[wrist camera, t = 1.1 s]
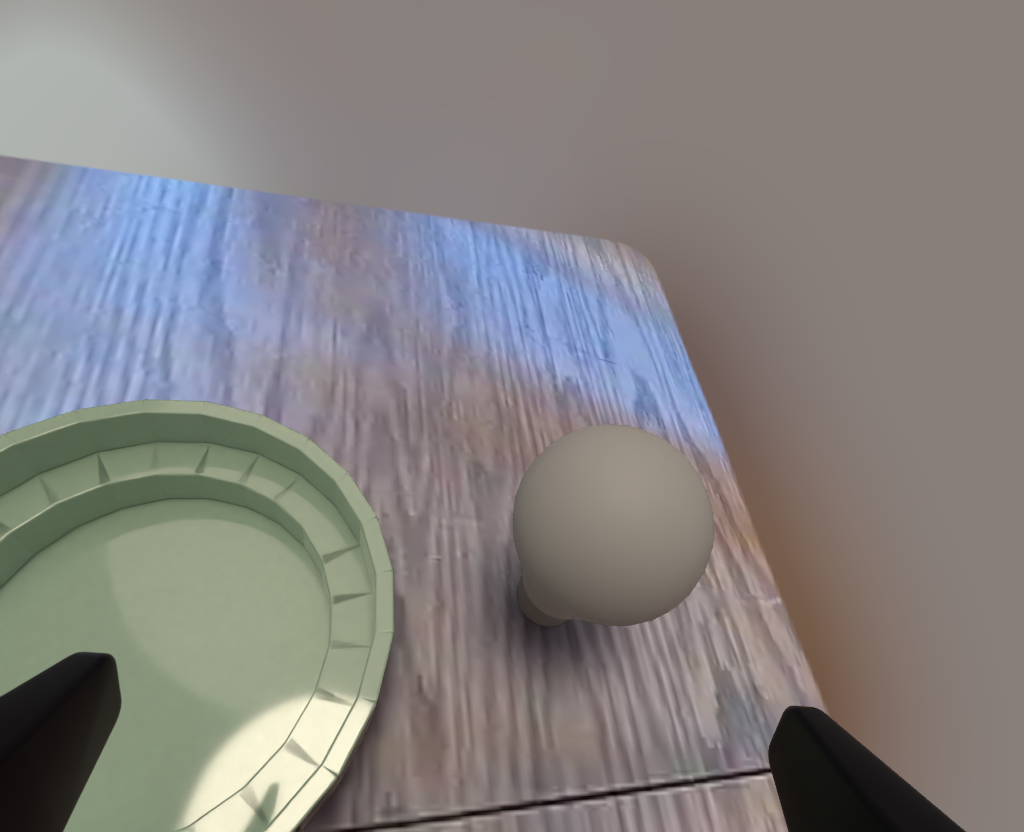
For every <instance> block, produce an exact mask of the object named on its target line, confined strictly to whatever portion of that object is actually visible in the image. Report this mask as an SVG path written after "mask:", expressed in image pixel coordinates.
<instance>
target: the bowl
mask: <svg viewBox="0 0 1024 832" xmlns="http://www.w3.org/2000/svg"><path fill="white" fill-rule="evenodd" d="M393 637H394V573H393V568H392V564H391V561H390V557H389V554H388V551H387V547H386V544H385V541H384V537H383V534H382V531H381V527H380V524H379V520H378V518H377V515H376V514H375V512H374V511H373V509H372V508H371V506H370V505H369V503H368V501H367V500H366V498H365V497H364V495H363V494H362V492H361V491H360V489H359V488H358V486H357V485H356V483H355V481H354V480H353V478H352V477H351V475H350V474H349V473H348V472H347V471H346V470H345V469H344V468H343V467H341V466H340V465H339V464H338V463H337V462H336V461H335V460H333V459H332V458H331V457H330V456H329V455H328V454H327V453H325V452H324V451H323V450H322V449H321V448H320V447H319V446H317V445H316V444H315V443H314V442H313V441H312V440H310V439H309V438H308V437H306V436H304V435H302V434H299V433H297V432H295V431H293V430H291V429H289V428H287V427H285V426H283V425H281V424H279V423H277V422H275V421H273V420H271V419H269V418H267V417H265V416H263V415H261V414H257V413H253V412H249V411H245V410H240V409H236V408H232V407H228V406H224V405H219V404H215V403H211V402H205V401H180V400H148V399H145V400H144V401H143V400H137V401H130V402H124V403H117V404H111V405H104V406H97V407H91V408H84V409H78V410H77V411H71V412H68V413H65V414H62V415H59V416H56V417H53V418H50V419H47V420H44V421H41V422H38V423H34V424H31V425H28V426H25V427H22V428H19V429H16V430H13V431H10V432H7V433H6V435H5V434H2V435H0V696H2V695H4V694H6V693H7V692H9V691H11V690H12V689H14V688H16V687H17V686H19V685H21V684H22V683H24V682H26V681H27V680H29V679H31V678H32V677H34V676H36V675H37V674H39V673H41V672H43V671H44V670H46V669H48V668H49V667H51V666H53V665H54V664H56V663H58V662H59V661H61V660H63V659H64V658H66V657H68V656H70V655H72V654H74V653H77V652H97V653H108V654H111V655H112V656H113V657H114V658H115V660H116V664H117V671H118V678H119V684H120V691H121V698H122V703H121V710H120V714H119V717H118V720H117V722H116V724H115V726H114V728H113V730H112V732H111V734H110V736H109V738H108V741H107V743H106V745H105V747H104V749H103V751H102V753H101V755H100V757H99V759H98V761H97V763H96V765H95V767H94V769H93V771H92V773H91V775H90V777H89V780H88V782H87V784H86V786H85V788H84V790H83V792H82V794H81V796H80V798H79V800H78V802H77V804H76V806H75V808H74V810H73V812H72V814H71V817H70V819H69V821H68V823H67V825H66V827H65V829H64V831H63V832H302V831H303V829H304V828H305V827H306V826H307V825H308V823H309V822H310V821H311V820H312V818H313V817H314V816H315V815H316V814H317V812H318V811H319V810H320V809H321V807H322V806H323V805H324V804H325V803H326V801H327V800H328V799H329V798H330V797H331V795H332V794H333V793H334V792H335V790H336V789H337V788H338V785H340V784H341V782H342V780H343V778H344V776H345V774H346V772H347V770H348V768H349V766H350V764H351V762H352V760H353V758H354V756H355V754H356V752H357V750H358V748H359V746H360V744H361V742H362V740H363V738H364V736H365V735H366V733H367V731H368V729H369V727H370V725H371V722H372V719H373V716H374V712H375V709H376V705H377V701H378V698H379V693H380V689H381V685H382V681H383V677H384V673H385V669H386V665H387V661H388V657H389V653H390V649H391V645H392V641H393Z"/></svg>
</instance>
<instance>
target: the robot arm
mask: <svg viewBox="0 0 1024 832" xmlns="http://www.w3.org/2000/svg"><path fill="white" fill-rule="evenodd" d="M121 703H122V698H121V691H120V684H119V678H118V671H117V664H116V660H115V658H114V657H113V656H112V655H111V654H108V653H97V652H77V653H74V654H72V655H70V656H68V657H66V658H64V659H63V660H61V661H59V662H58V663H56V664H54V665H53V666H51V667H49V668H48V669H46V670H44V671H43V672H41V673H39V674H37V675H36V676H34V677H32V678H31V679H29V680H27V681H26V682H24V683H22V684H21V685H19V686H17V687H16V688H14V689H12V690H11V691H9V692H7V693H6V694H4V695H2V696H0V832H63V831H64V829H65V827H66V825H67V823H68V821H69V819H70V817H71V814H72V812H73V810H74V808H75V806H76V804H77V802H78V800H79V798H80V796H81V794H82V792H83V790H84V788H85V786H86V784H87V782H88V780H89V777H90V775H91V773H92V771H93V769H94V767H95V765H96V763H97V761H98V759H99V757H100V755H101V753H102V751H103V749H104V747H105V745H106V743H107V741H108V738H109V736H110V734H111V732H112V730H113V728H114V726H115V724H116V722H117V720H118V717H119V714H120V710H121ZM768 757H769V764H770V768H771V772H772V775H773V779H774V782H775V786H776V789H777V793H778V796H779V800H780V803H781V807H782V810H783V814H784V817H785V821H786V824H787V828H788V831H789V832H966V831H964V830H963V829H962V828H961V827H960V826H958V825H957V824H956V823H955V822H954V821H952V820H951V819H950V818H949V817H948V816H947V815H945V814H944V813H943V812H942V811H941V810H939V809H938V808H937V807H936V806H935V805H933V804H932V803H931V802H930V801H929V800H927V799H926V798H925V797H924V796H923V795H922V794H920V793H919V792H918V791H917V790H916V789H914V788H913V787H912V786H911V785H910V784H909V783H907V782H906V781H905V780H904V779H902V778H901V777H900V776H899V775H898V774H897V773H895V772H894V771H893V770H892V769H891V768H890V767H888V766H887V765H886V764H885V763H884V762H882V761H881V760H880V759H879V758H877V757H876V756H875V755H874V754H873V753H872V752H870V751H869V750H868V749H867V748H865V746H863V745H862V744H861V743H860V742H858V741H857V740H856V739H855V738H854V737H853V736H851V735H850V734H849V733H848V732H847V731H846V730H844V729H843V728H842V727H841V726H840V725H838V724H837V723H836V722H835V721H833V720H832V719H831V718H830V717H829V716H828V715H827V714H825V713H824V712H823V711H821V710H819V709H817V708H814V707H803V706H789V707H788V708H787V709H785V711H784V713H783V715H782V717H781V719H780V722H779V724H778V726H777V728H776V731H775V733H774V735H773V738H772V740H771V742H770V745H769V751H768Z"/></svg>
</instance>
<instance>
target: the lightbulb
mask: <svg viewBox="0 0 1024 832" xmlns="http://www.w3.org/2000/svg"><path fill="white" fill-rule="evenodd" d="M513 534H514V542H515V546H516V549H517V553H518V557H519V559H520V561H521V563H522V565H523V571H522V576H521V579H520V581H519V584H518V588H517V599H518V602H519V605H520V608H521V610H522V611H523V613H524V614H525V615H526V616H527V617H528V618H529V619H530V620H531V621H533V622H534V623H536V624H538V625H541V626H546V627H554V626H558V625H560V624H562V623H564V622H566V621H568V620H569V619H575V618H579V619H581V620H583V621H586V622H588V623H593V624H598V625H603V626H627V625H635V624H639V623H643V622H647V621H651V620H654V619H656V618H658V617H660V616H661V615H663V614H665V613H667V612H669V611H670V610H672V609H673V608H675V607H676V606H677V605H679V604H680V603H681V602H682V601H683V600H684V599H685V598H686V597H687V596H689V594H690V593H691V591H692V590H693V589H694V587H695V586H696V584H697V583H698V581H699V580H700V578H701V576H702V575H703V573H704V572H705V569H706V566H707V563H708V560H709V557H710V554H711V551H712V548H713V540H714V521H713V512H712V506H711V502H710V499H709V495H708V492H707V490H706V488H705V486H704V484H703V482H702V480H701V478H700V476H699V474H698V473H697V471H696V470H695V469H694V467H693V466H692V464H691V463H690V461H689V460H688V459H687V458H686V457H685V456H684V455H683V454H682V453H681V452H680V451H679V450H678V449H676V448H675V447H674V446H673V445H671V444H670V443H669V442H667V441H665V440H664V439H662V438H660V437H659V436H657V435H654V434H652V433H649V432H647V431H644V430H642V429H639V428H634V427H630V426H626V425H614V424H608V425H596V426H588V427H585V428H581V429H578V430H575V431H573V432H571V433H569V434H567V435H565V436H563V437H561V438H560V439H558V440H556V441H555V442H553V443H552V444H550V445H549V446H548V447H547V448H546V449H545V450H544V451H543V452H542V453H541V454H540V455H539V456H538V457H537V458H535V459H534V461H533V462H532V464H531V465H530V467H529V468H528V470H527V471H526V473H525V475H524V476H523V478H522V480H521V483H520V485H519V488H518V491H517V494H516V496H515V503H514V511H513Z"/></svg>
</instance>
